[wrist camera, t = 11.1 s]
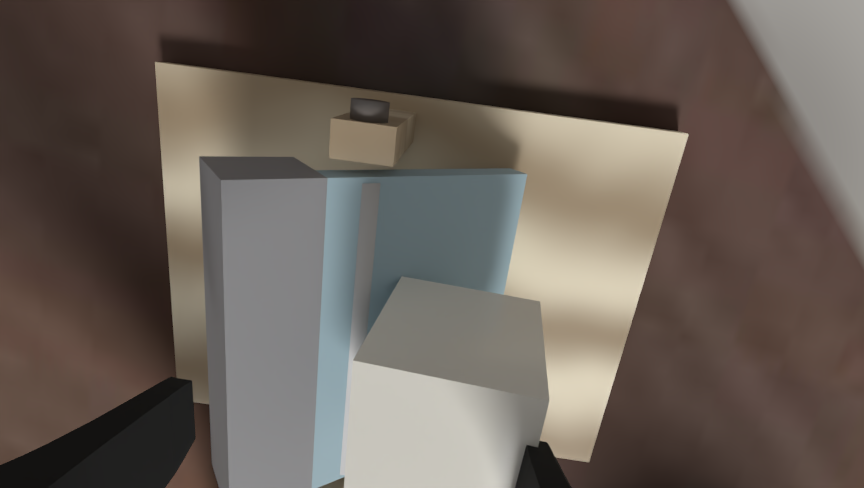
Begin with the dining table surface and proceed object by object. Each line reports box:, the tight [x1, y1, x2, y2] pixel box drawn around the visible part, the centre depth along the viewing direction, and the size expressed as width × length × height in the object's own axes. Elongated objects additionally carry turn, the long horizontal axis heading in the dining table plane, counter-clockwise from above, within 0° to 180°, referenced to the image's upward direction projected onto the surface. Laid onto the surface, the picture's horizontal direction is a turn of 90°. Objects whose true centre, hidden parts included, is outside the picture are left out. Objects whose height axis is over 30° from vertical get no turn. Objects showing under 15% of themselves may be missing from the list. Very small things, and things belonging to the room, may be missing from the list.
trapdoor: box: [199, 156, 527, 488], centre depth 19 cm, size 12×12×3 cm
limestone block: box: [344, 276, 549, 488], centre depth 15 cm, size 5×5×6 cm
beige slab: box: [155, 62, 689, 488], centre depth 20 cm, size 17×22×7 cm
